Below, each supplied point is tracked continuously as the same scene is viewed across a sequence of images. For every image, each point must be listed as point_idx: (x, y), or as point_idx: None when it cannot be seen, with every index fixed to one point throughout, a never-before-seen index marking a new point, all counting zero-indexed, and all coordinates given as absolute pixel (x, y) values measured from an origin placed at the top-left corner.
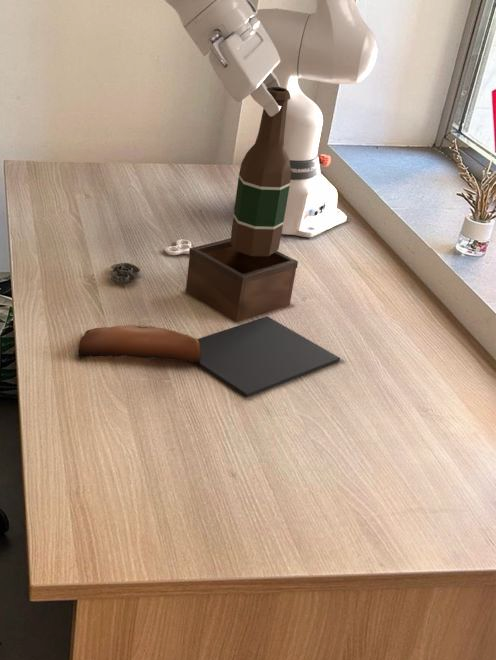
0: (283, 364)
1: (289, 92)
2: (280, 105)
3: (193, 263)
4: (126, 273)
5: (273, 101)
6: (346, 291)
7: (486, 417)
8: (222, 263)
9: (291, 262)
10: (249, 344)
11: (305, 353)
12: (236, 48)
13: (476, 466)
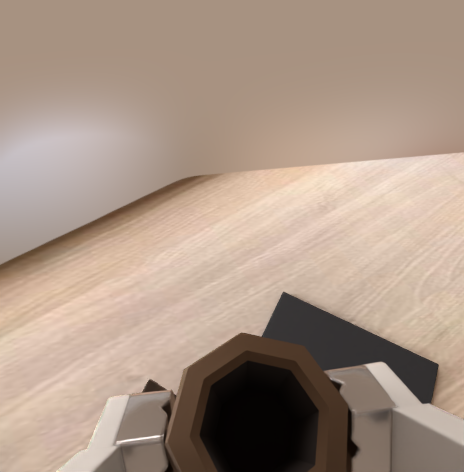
0: (342, 346)
1: (243, 333)
2: (331, 371)
3: None
4: None
5: (417, 400)
6: (83, 330)
7: (300, 167)
8: None
9: (159, 388)
10: None
11: (299, 329)
12: None
13: (379, 166)
